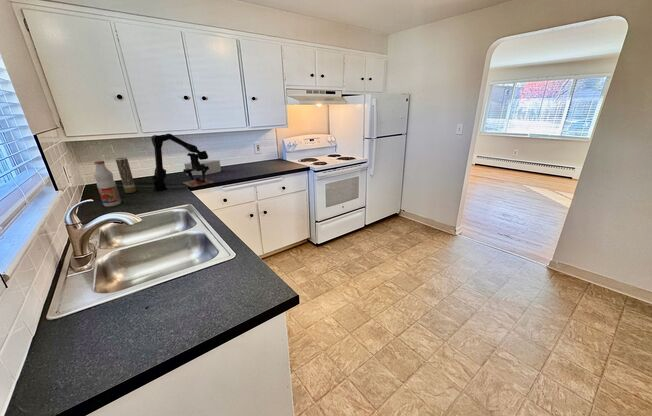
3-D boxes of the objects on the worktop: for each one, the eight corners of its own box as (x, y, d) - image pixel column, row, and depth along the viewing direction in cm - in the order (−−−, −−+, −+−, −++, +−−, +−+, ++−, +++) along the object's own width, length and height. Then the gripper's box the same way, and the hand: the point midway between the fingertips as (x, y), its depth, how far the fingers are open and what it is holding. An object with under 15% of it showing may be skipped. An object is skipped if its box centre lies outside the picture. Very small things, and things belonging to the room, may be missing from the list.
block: (186, 173, 249) (183, 162, 245) (220, 169, 262) (218, 159, 259) (187, 177, 237) (184, 165, 233) (222, 172, 250) (220, 161, 246)
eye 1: (197, 181, 220) (196, 178, 219) (195, 180, 222) (194, 177, 221) (201, 180, 223) (201, 177, 222) (199, 179, 225) (199, 176, 224)
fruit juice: (125, 202, 176) (112, 160, 165) (109, 207, 167) (95, 163, 157) (115, 201, 179) (102, 159, 168) (100, 205, 171) (85, 162, 160)
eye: (201, 183, 215) (200, 179, 214) (199, 182, 217) (198, 178, 216) (206, 182, 217) (205, 178, 216) (204, 181, 220) (203, 177, 219)
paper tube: (130, 193, 193) (120, 159, 184) (123, 193, 195) (112, 159, 186) (138, 190, 200) (129, 157, 191) (131, 190, 201) (121, 157, 192)
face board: (191, 187, 207) (191, 186, 207) (182, 183, 219) (182, 182, 218) (214, 182, 219) (213, 181, 219) (204, 178, 231) (204, 177, 230)
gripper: (186, 164, 205) (190, 183, 211) (210, 160, 218) (213, 178, 223) (181, 162, 212) (185, 181, 218) (204, 158, 225) (207, 176, 230)
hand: (198, 179), depth 222 cm, fingers open, 8 cm apart
